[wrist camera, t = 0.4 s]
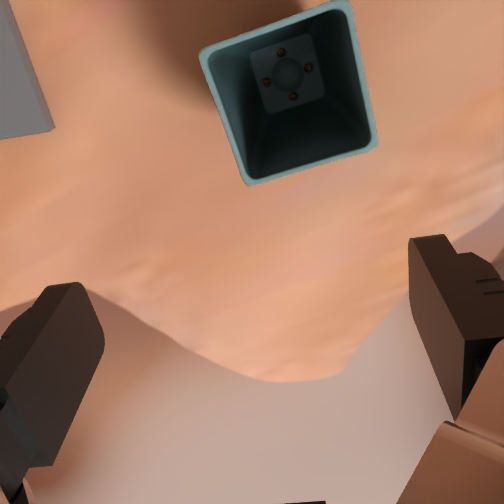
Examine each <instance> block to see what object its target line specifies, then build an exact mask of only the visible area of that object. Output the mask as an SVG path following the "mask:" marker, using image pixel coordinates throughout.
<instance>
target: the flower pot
mask: <svg viewBox="0 0 504 504" xmlns="http://www.w3.org/2000/svg"><path fill="white" fill-rule="evenodd" d="M279 49H283V50H284V51H285V54H284V56H282V57H280V56H279V55H278V50H279ZM198 58H199V62H200V64H201V68H202V70H203V72H204V75H205V78H206V81H207V83H208V85H209V88H210V91H211V94H212V96H213V99H214V101H215V104H216V107H217V109H218V112H219V115H220V117H221V120H222V123H223V126H224V129H225V131H226V134H227V137H228V139H229V142H230V145H231V148H232V151H233V154H234V156H235V160H236V162H237V165H238V168H239V171H240V175H241V177H242V180H243V181H244V183H245V184H246V185H247V186H250V187H252V186H256V185H260V184H264V183H266V182H269V181H273V180H276V179H279V178H282V177H285V176H288V175H292V174H295V173H298V172H301V171H305V170H308V169H311V168H314V167H318V166H321V165H324V164H328V163H331V162H335V161H338V160H342V159H345V158H348V157H352V156H355V155H360V154H363V153H367V152H369V151H372V150H374V149H375V148H377V147H378V145H379V136H378V131H377V127H376V122H375V118H374V112H373V108H372V103H371V99H370V94H369V89H368V85H367V80H366V75H365V69H364V65H363V60H362V55H361V50H360V44H359V39H358V34H357V29H356V24H355V18H354V13H353V9H352V5H351V3H350V1H349V0H331V1H329V2H326V3H324V4H321V5H318V6H316V7H313V8H310V9H308V10H305V11H303V12H300V13H298V14H295V15H292V16H289V17H287V18H284V19H282V20H279V21H276V22H273V23H271V24H268V25H265V26H262V27H259V28H257V29H254V30H251V31H248V32H245V33H242V34H240V35H237V36H234V37H231V38H228V39H226V40H223V41H220V42H217V43H214V44H211V45H208V46H205V47H203V48H202V49H201V50H200V51H199V53H198ZM306 64H310V65H311V67H312V68H311V70H310V71H306V70H305V65H306ZM265 78H269V79H270V84H269V85H265V84H264V82H263V81H264V79H265ZM291 93H296V95H297V97H296V98H295V99H291V98H290V94H291Z"/></svg>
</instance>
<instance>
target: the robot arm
mask: <svg viewBox="0 0 504 504" xmlns="http://www.w3.org/2000/svg"><path fill="white" fill-rule="evenodd" d="M408 264H409V299H410V306H411V311H412V315H413V319H414V321H415V324H416V326H417V329H418V331H419V334H420V336H421V339H422V341H423V344H424V346H425V349H426V351H427V354H428V356H429V359H430V361H431V364H432V366H433V369H434V371H435V374H436V376H437V379H438V381H439V384H440V386H441V389H442V391H443V394H444V396H445V399H446V401H447V404H448V406H449V409H450V411H451V414H452V416H453V419H454V421H455V422H454V423H451V422H449V421H444V422H443V423H442V424H441V425H440V426H439V428H438V429H437V431H436V433H435V434H434V436H433V438H432V440H431V442H430V444H429V445H428V447H427V449H426V451H425V452H424V454H423V456H422V458H421V460H420V462H419V464H418V465H417V467H416V469H415V471H414V473H413V474H412V476H411V478H410V480H409V481H408V483H407V485H406V487H405V489H404V490H403V493H402V494H401V496H400V498H399V500H398V502H397V503H396V504H504V281H502V280H501V277H500V275H499V274H498V273H497V271H496V270H495V269H494V267H493V266H492V265H491V263H489V262H487V261H486V260H484V259H482V258H480V257H479V256H477V255H475V254H474V253H472V252H469V253H461V254H457V253H456V251H455V250H454V248H453V246H452V245H451V243H450V242H449V240H448V239H447V237H446V236H445V235H444V234H439V235H431V236H424V237H416V238H410V239H409V243H408ZM104 345H105V339H104V333H103V330H102V327H101V325H100V322H99V320H98V318H97V315H96V313H95V311H94V308H93V306H92V304H91V301H90V299H89V297H88V294H87V292H86V290H85V288H84V286H83V285H82V284H81V283H79V282H72V283H65V284H57V285H50V286H47V287H46V288H45V289H44V290H43V292H42V293H41V295H40V296H39V297H38V299H37V300H36V301H35V303H34V304H33V306H32V307H31V308H29V309H28V310H26V311H25V312H24V313H23V314H22V315H20V316H19V317H18V318H16V319H15V320H14V321H13V322H12V323H11V324H10V326H9V327H8V328H7V330H6V331H5V332H4V334H3V335H2V336H1V339H0V504H35V503H34V500H33V496H32V493H31V490H30V487H29V484H28V483H27V481H26V480H25V478H24V477H25V475H26V473H27V471H28V469H29V468H32V467H44V466H52V465H53V463H54V461H55V459H56V457H57V454H58V452H59V450H60V448H61V445H62V443H63V441H64V439H65V437H66V434H67V432H68V430H69V428H70V425H71V423H72V421H73V419H74V416H75V414H76V412H77V410H78V408H79V405H80V403H81V401H82V399H83V397H84V395H85V392H86V390H87V388H88V386H89V384H90V381H91V379H92V377H93V375H94V372H95V370H96V368H97V366H98V364H99V361H100V359H101V357H102V354H103V352H104ZM286 504H326V502H325V501H316V502H301V503H286Z"/></svg>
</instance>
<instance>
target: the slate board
mask: <svg viewBox="0 0 504 504" xmlns="http://www.w3.org/2000/svg"><path fill="white" fill-rule="evenodd" d="M54 128H55V125H54V122H53V120H52V117H51V114H50V111H49V109H48V106H47V103H46V101H45V98H44V95H43V93H42V90H41V87H40V85H39V82H38V79H37V76H36V74H35V71H34V68H33V66H32V63H31V60H30V58H29V55H28V52H27V49H26V47H25V44H24V41H23V39H22V36H21V33H20V31H19V28H18V25H17V23H16V20H15V17H14V14H13V12H12V9H11V6H10V4H9V1H8V0H0V140H3V139H9V138H15V137H21V136H27V135H33V134H39V133H45V132H50V131H51V130H53V129H54Z"/></svg>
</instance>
